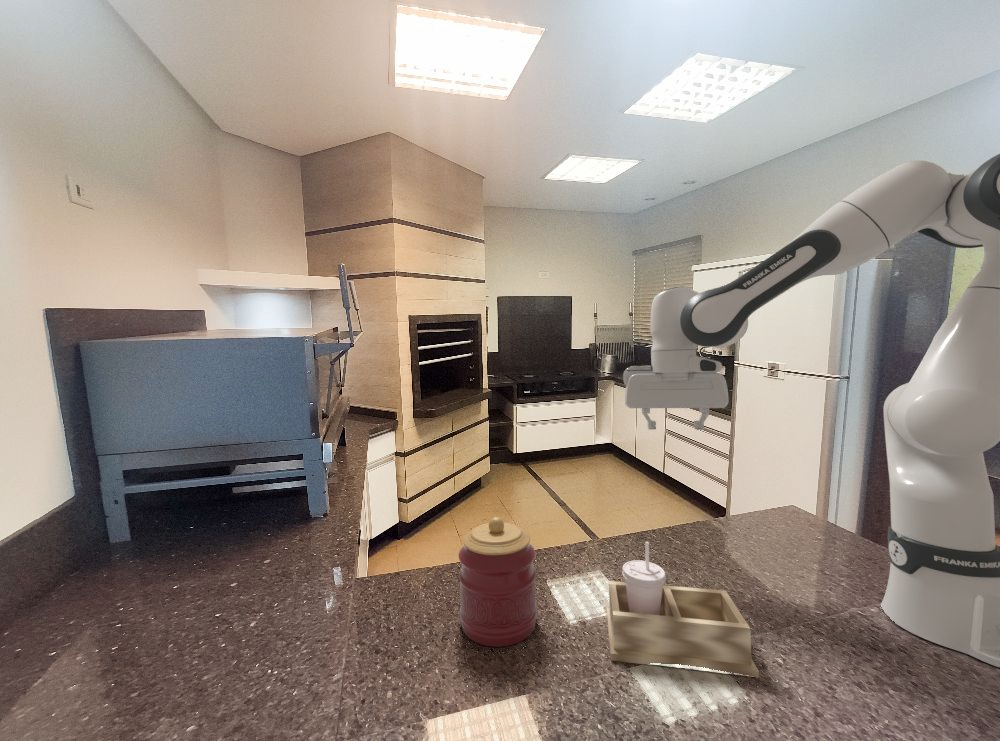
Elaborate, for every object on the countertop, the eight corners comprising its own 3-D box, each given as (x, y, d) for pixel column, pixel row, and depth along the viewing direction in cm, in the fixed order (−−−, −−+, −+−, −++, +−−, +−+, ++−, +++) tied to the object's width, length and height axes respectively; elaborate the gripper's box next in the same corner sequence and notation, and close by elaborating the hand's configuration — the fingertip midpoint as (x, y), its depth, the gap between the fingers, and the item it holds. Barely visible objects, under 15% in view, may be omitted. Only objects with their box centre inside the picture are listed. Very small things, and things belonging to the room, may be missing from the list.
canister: (462, 654, 59) (459, 536, 59) (458, 604, 72) (455, 507, 72) (546, 643, 61) (543, 529, 61) (527, 596, 74) (525, 502, 74)
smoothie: (670, 648, 57) (669, 553, 57) (624, 642, 59) (623, 549, 59) (662, 621, 64) (661, 535, 64) (621, 615, 65) (620, 532, 65)
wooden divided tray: (727, 624, 64) (726, 587, 64) (759, 678, 53) (757, 633, 53) (606, 612, 68) (605, 577, 68) (611, 660, 57) (610, 618, 57)
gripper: (624, 365, 83) (625, 431, 83) (730, 363, 79) (732, 431, 79) (621, 366, 89) (623, 427, 89) (719, 363, 85) (721, 427, 85)
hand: (675, 429), depth 84 cm, fingers open, 8 cm apart
